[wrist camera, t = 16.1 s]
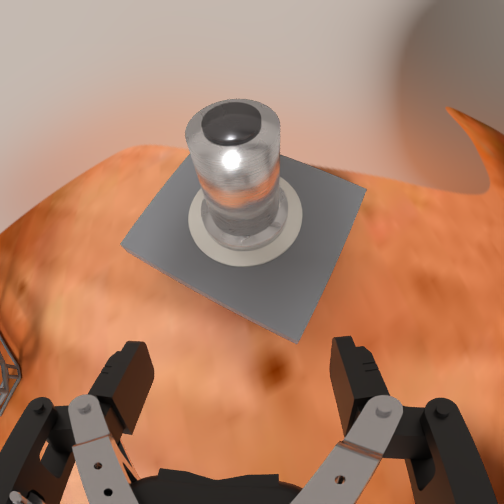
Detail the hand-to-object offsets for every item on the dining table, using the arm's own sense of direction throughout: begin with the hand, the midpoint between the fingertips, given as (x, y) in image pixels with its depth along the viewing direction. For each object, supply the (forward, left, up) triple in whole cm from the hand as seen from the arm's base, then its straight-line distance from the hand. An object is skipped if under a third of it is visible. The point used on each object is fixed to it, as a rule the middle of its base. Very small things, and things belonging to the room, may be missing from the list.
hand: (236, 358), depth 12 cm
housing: (+6, -10, -7) cm, 14 cm away
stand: (+6, -10, -12) cm, 17 cm away
